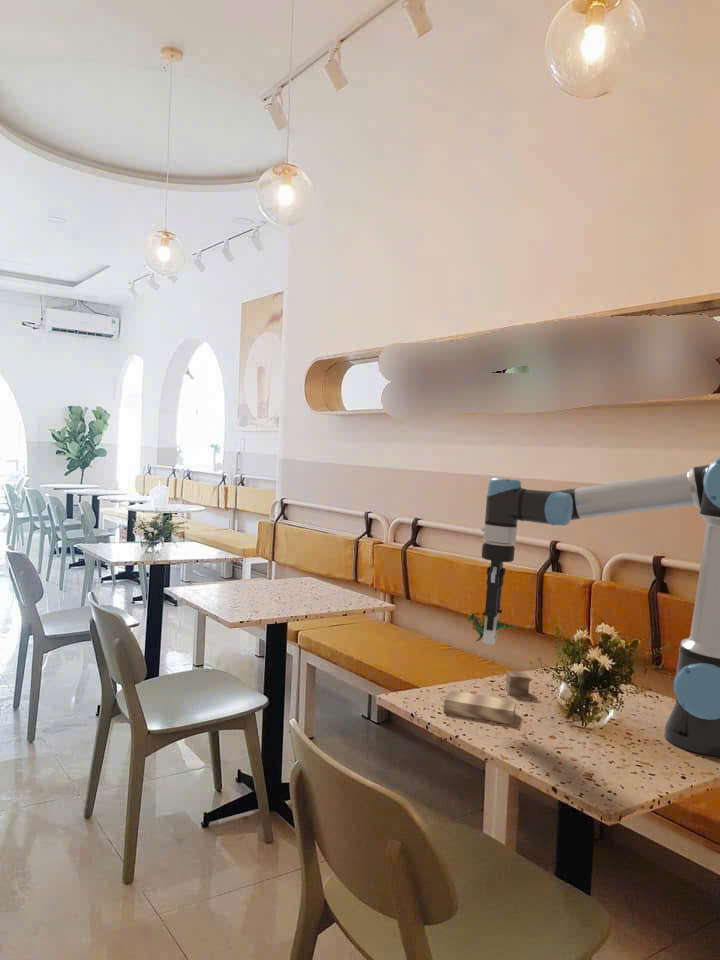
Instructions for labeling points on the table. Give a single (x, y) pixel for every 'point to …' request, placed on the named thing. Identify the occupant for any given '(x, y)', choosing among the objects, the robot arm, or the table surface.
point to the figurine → (480, 625)
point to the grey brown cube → (517, 683)
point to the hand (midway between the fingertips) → (489, 641)
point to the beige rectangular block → (480, 706)
